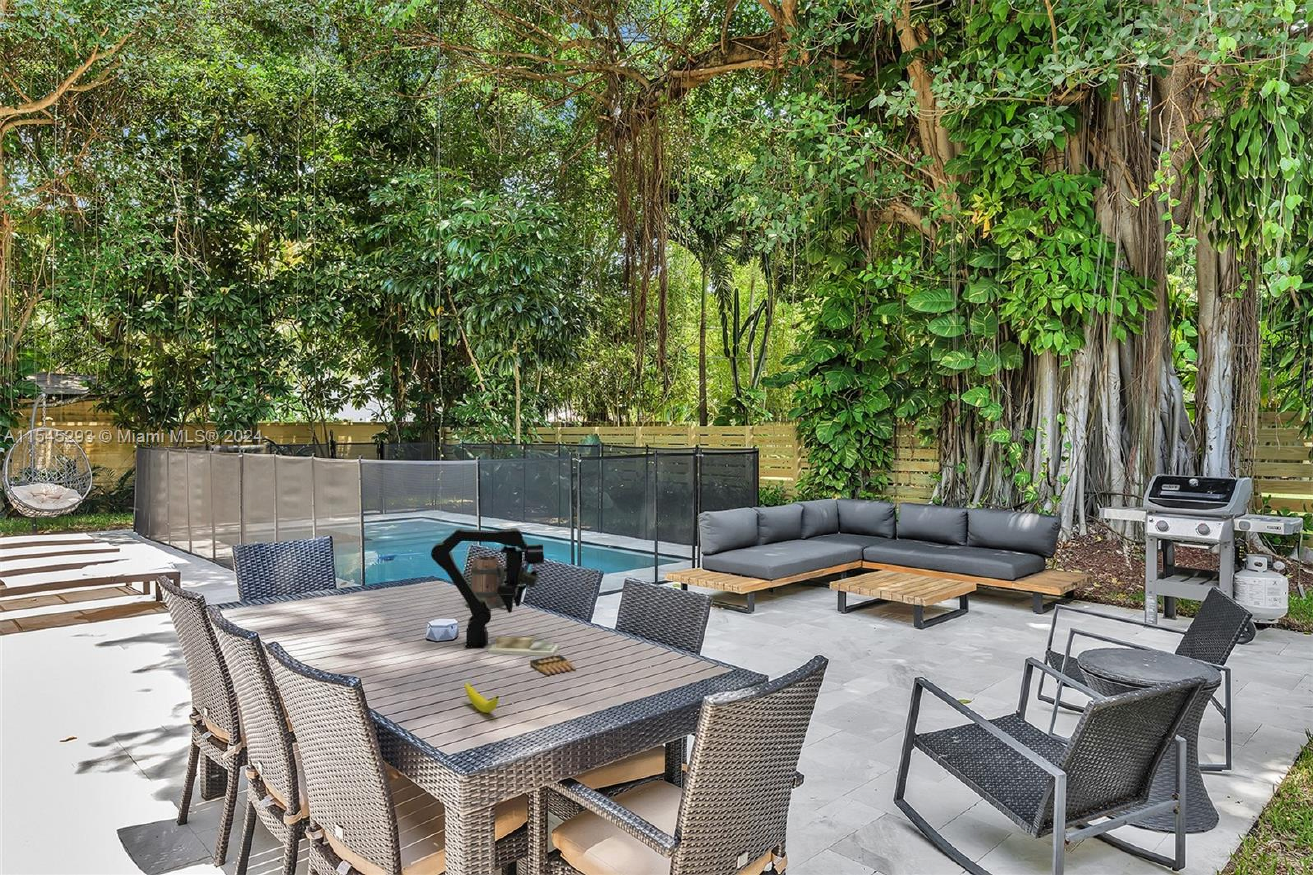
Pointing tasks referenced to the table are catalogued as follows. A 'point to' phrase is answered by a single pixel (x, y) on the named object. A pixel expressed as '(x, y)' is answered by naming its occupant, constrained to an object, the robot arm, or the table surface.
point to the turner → (523, 643)
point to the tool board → (522, 651)
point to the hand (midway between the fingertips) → (513, 609)
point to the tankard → (487, 580)
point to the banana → (480, 700)
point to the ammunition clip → (552, 665)
